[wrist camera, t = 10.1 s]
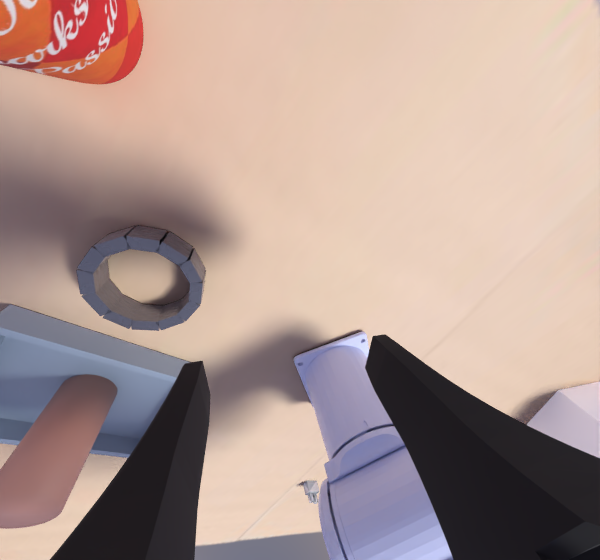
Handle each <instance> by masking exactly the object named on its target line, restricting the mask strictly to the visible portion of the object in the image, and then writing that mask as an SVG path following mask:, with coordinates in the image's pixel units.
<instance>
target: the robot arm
mask: <svg viewBox="0 0 600 560" xmlns="http://www.w3.org/2000/svg"><path fill="white" fill-rule="evenodd" d="M300 362H301V363H300ZM294 363H295V365H296V368H297V370H298V373H299V375H300V377H301V380H302V382H303V385H304V387H305V390H306V392H307V394H308V397H309V399H310V402H311V404H312V406H313V407H314V410H315V414H316V417H317V420H318V424H319V427H320V430H321V434H322V437H323V441H324V444H325V447H326V451H327V454H328V458H329V462H327V463H325V464H324V466H325V470H326V474H327V477H328V478H327V479H325V480H324V481H323V482H322V484H321V489H320V494H319V501H318V506H319V517H320V523H321V528H322V533H323V537H324V541H325V544H326V548H327V551H328V554H329V557H330V560H600V458H598V457H596V456H593V455H591V454H588V453H586V452H584V451H581V450H579V449H577V448H574V447H572V446H570V445H568V444H566V443H563V442H561V441H559V440H557V439H555V438H552V437H550V436H548V435H546V434H544V433H542V432H540V431H538V430H536V429H534V428H531V427H529V426H527V425H526V424H524V423H522V422H520V421H518V420H516V419H514V418H512V417H510V416H508V415H506V414H504V413H503V412H501V411H499V410H497V409H495V408H493V407H492V406H490V405H488V404H487V403H485V402H483V401H481V400H480V399H478V398H476V397H475V396H473V395H471V394H470V393H468V392H466V391H465V390H463V389H462V388H460V387H458V386H457V385H455V384H454V383H452V382H451V381H449V380H448V379H446V378H445V377H443V376H442V375H440V374H439V373H438V372H436V371H435V370H433V369H432V368H430V367H429V366H428V365H426V364H425V363H423V362H422V361H421V360H419V359H418V358H417V357H415V356H414V355H413V354H411V353H410V352H408V351H407V350H406V349H404V348H403V347H402V346H400V345H399V344H398V343H396V342H395V341H394V340H392V339H391V338H389V337H388V336H387V335H378V336H373V338H372V342H371V346H370V350H369V348H368V341H367V335H366V333H365V332H359V333H356V334H354V335H351V336H348V337H346V338H343V339H340V340H337V341H335V342H332V343H329V344H327V345H324V346H321V347H319V348H316V349H313V350H310V351H308V352H305V353H302V354H300V355H297V356H295V357H294ZM209 415H210V391H209V387H208V383H207V378H206V374H205V370H204V365H203V361H198V362H191V363H185V364H184V365H183V367H182V369H181V371H180V373H179V375H178V377H177V379H176V381H175V383H174V384H173V386H172V388H171V390H170V392H169V394H168V395H167V397H166V399H165V401H164V402H163V404H162V406H161V407H160V409H159V411H158V412H157V414H156V416H155V417H154V419H153V421H152V422H151V424H150V426H149V427H148V429H147V430H146V432H145V433H144V435H143V436H142V438H141V439H140V441H139V442H138V444H137V446H136V447H135V449H134V450H133V452H132V453H131V455H130V456H129V458H128V459H127V460H126V462H125V463H124V465H123V466H122V468H121V469H120V470H119V472H118V473H117V475H116V476H115V477H114V479H113V480H112V481H111V483H110V484H109V485H108V487H107V488H106V490H105V491H104V492H103V494H102V495H101V496H100V498H99V499H98V500H97V502H96V503H95V504H94V505H93V507H92V508H91V509H90V510H89V512H88V513H87V514H86V516H85V517H84V518H83V519H82V521H81V522H80V523H79V525H78V526H77V527H76V528H75V530H74V531H73V532H72V533H71V535H70V536H69V537H68V538H67V540H66V541H65V542H64V543H63V545H62V546H61V547H60V548H59V549H58V551H57V552H56V553H55V554H54V556H53V557H52V558H51V559H50V560H194V555H195V538H196V523H197V508H198V499H199V490H200V483H201V476H202V469H203V462H204V455H205V449H206V442H207V434H208V427H209Z"/></svg>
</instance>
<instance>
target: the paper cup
mask: <svg viewBox="0 0 600 560" xmlns="http://www.w3.org/2000/svg"><path fill="white" fill-rule="evenodd" d="M142 46H143V23H142V17H141V12H140V8H139V5H138V1H137V0H0V65H4V66H9V67H13V68H17V69H22V70H26V71H30V72H35V73H39V74H44V75H48V76H53V77H57V78H62V79H67V80H71V81H77V82H82V83H89V84H108V83H113V82H116V81H119V80H121V79H122V78H124V77H126V76H127V75H128V74H129V73H130V72H131V71H132V70H133V69H134V67H135V66H136V64H137V62H138V60H139V58H140V55H141V51H142Z"/></svg>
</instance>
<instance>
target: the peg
mask: <svg viewBox="0 0 600 560" xmlns="http://www.w3.org/2000/svg"><path fill="white" fill-rule="evenodd" d="M116 395H117V387H116V385H115V384H114V383H113V382H112V381H110V380H109V379H107V378H104V377H101V376H97V375H89V374H85V375H77V376H73V377H71V378H69V379H67V380H65V381H64V382H63V383H62V385H61V386H60V387H59V389H58V390H57V392H56V393H55V394H54V396H53V397H52V399H51V400H50V401H49V403H48V404H47V406H46V407H45V408H44V410H43V411H42V412H41V414H40V415H39V417H38V418H37V419H36V421H35V422H34V424H33V425H32V426H31V428H30V429H29V431H28V432H27V433H26V435H25V436H24V438H23V439H22V440H21V442H20V443H19V445H18V446H17V447H16V449H15V450H14V451H13V453H12V454H11V456H10V457H9V458H8V460H7V461H6V463H5V464H4V465H3V467H2V468H1V470H0V528H22V527H29V526H34V525H38V524H42V523H45V522H47V521H50V520H52V519H54V518H55V517H57V516H58V515H59V514H60V513H61V512H62V510H63V508H64V506H65V504H66V501H67V499H68V497H69V495H70V493H71V491H72V489H73V487H74V484H75V482H76V480H77V478H78V476H79V474H80V472H81V470H82V467H83V465H84V463H85V461H86V459H87V457H88V455H89V453H90V451H91V448H92V446H93V444H94V442H95V440H96V438H97V436H98V434H99V431H100V429H101V427H102V425H103V423H104V421H105V419H106V417H107V414H108V412H109V410H110V408H111V406H112V404H113V402H114V400H115V397H116Z"/></svg>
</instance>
